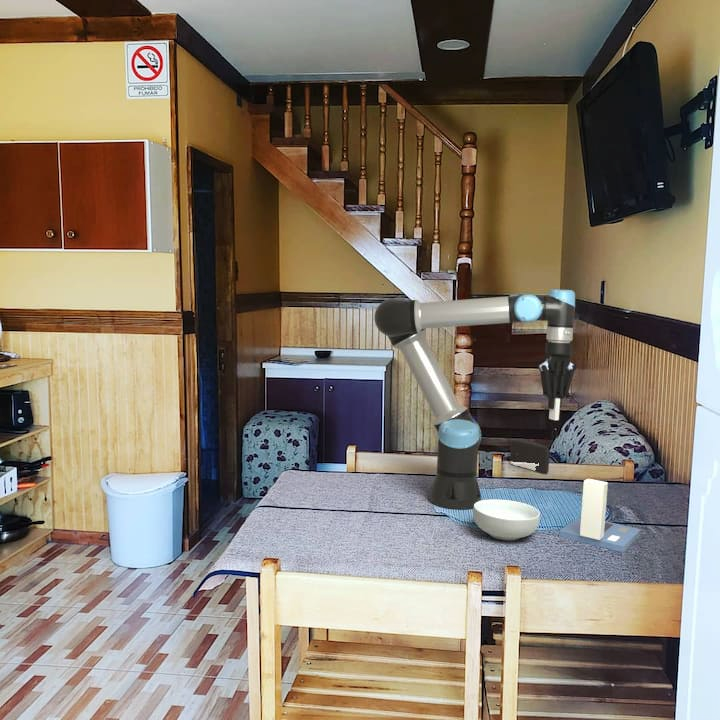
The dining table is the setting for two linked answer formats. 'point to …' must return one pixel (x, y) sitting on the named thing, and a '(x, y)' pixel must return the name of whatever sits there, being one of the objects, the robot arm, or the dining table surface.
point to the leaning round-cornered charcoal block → (530, 454)
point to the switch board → (613, 537)
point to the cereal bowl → (506, 518)
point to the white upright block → (593, 509)
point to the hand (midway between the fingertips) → (553, 419)
